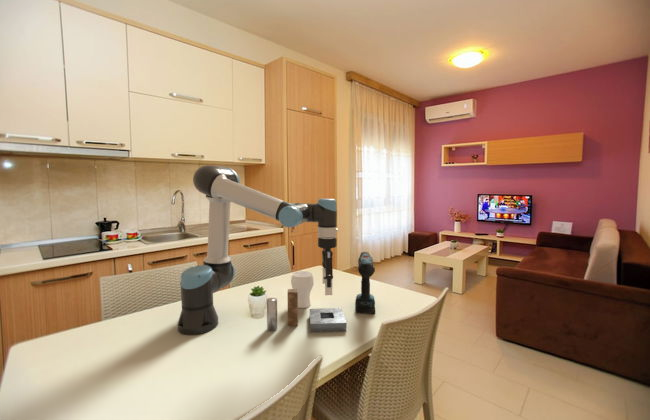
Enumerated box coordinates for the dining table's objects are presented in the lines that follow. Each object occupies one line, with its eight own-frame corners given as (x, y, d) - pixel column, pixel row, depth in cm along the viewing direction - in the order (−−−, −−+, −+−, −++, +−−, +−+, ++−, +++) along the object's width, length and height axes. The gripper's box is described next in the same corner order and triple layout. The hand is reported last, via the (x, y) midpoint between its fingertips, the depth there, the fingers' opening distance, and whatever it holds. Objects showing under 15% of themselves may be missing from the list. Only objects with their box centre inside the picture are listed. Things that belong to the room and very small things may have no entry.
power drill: (372, 298, 149) (373, 249, 147) (376, 318, 127) (377, 261, 125) (355, 297, 150) (355, 249, 148) (355, 317, 127) (356, 260, 125)
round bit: (266, 331, 115) (266, 301, 114) (267, 326, 119) (267, 297, 118) (276, 331, 116) (276, 301, 115) (277, 326, 119) (277, 297, 118)
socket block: (310, 332, 115) (310, 323, 114) (309, 316, 128) (309, 308, 128) (346, 331, 116) (346, 322, 115) (341, 315, 130) (341, 307, 129)
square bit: (287, 326, 120) (287, 292, 119) (288, 321, 124) (287, 289, 123) (297, 325, 120) (297, 292, 119) (297, 321, 124) (297, 288, 123)
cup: (303, 311, 134) (303, 279, 132) (286, 305, 140) (286, 274, 139) (318, 304, 142) (318, 273, 141) (301, 298, 149) (301, 269, 147)
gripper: (340, 243, 107) (340, 300, 109) (333, 232, 132) (333, 278, 134) (319, 243, 106) (319, 300, 108) (316, 232, 131) (316, 279, 133)
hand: (327, 288), depth 121 cm, fingers open, 13 cm apart
